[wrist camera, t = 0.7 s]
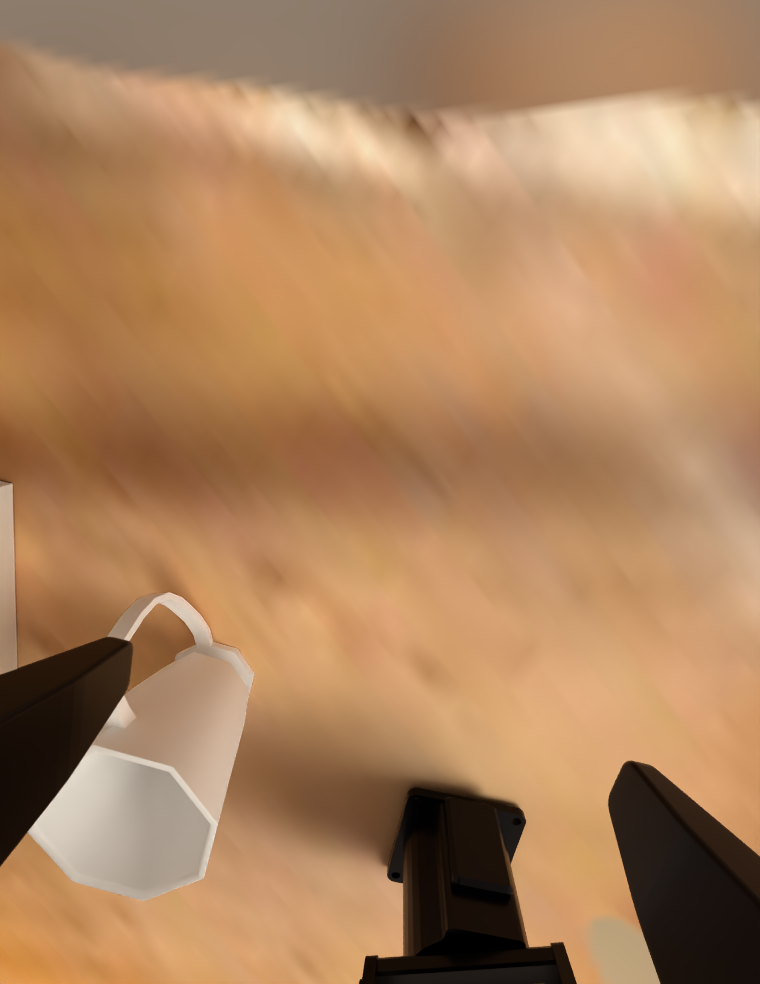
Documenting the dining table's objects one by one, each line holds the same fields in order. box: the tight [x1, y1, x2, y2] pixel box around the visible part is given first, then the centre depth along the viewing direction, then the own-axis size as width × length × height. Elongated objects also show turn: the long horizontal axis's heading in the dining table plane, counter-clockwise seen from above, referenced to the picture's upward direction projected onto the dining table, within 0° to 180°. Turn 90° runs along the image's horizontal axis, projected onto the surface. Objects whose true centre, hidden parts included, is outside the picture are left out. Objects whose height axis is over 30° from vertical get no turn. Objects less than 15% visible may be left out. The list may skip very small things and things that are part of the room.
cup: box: [28, 592, 255, 901], centre depth 19 cm, size 7×10×8 cm
